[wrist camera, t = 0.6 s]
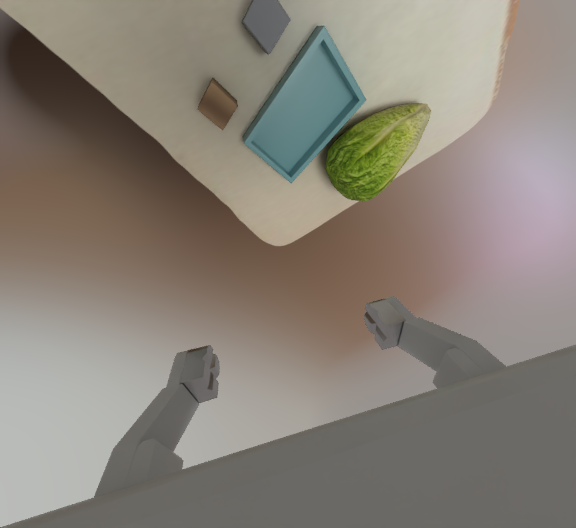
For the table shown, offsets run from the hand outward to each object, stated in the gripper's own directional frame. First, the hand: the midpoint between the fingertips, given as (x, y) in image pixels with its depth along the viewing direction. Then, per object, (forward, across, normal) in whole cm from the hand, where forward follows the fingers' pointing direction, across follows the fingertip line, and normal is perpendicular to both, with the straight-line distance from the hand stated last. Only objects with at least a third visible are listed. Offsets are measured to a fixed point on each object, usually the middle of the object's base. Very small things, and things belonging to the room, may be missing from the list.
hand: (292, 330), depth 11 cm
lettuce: (+48, -31, -3) cm, 57 cm away
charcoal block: (+42, -8, -24) cm, 49 cm away
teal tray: (+46, -14, -10) cm, 49 cm away
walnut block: (+45, +3, -15) cm, 48 cm away
